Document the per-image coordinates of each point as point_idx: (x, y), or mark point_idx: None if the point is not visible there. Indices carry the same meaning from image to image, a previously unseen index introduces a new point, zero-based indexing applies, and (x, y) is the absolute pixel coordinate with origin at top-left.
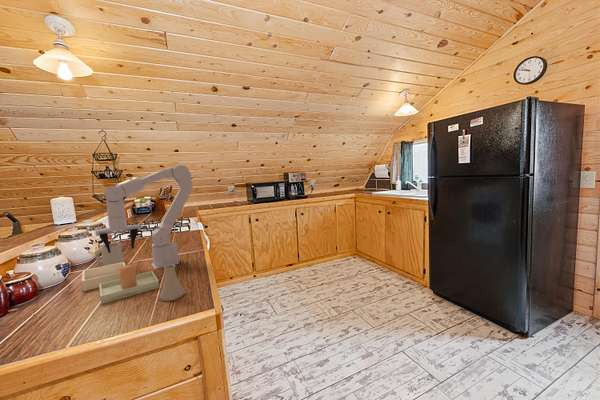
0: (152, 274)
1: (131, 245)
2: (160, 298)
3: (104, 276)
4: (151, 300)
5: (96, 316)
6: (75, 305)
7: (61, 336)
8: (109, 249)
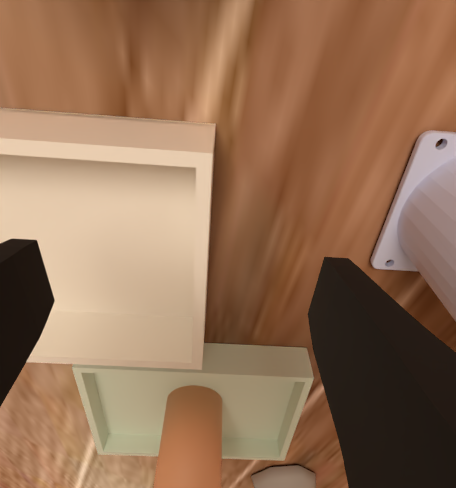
0: (296, 403)
1: (322, 333)
2: (252, 480)
3: (84, 362)
4: (233, 469)
5: (104, 462)
6: (23, 390)
7: (48, 483)
8: (23, 349)
